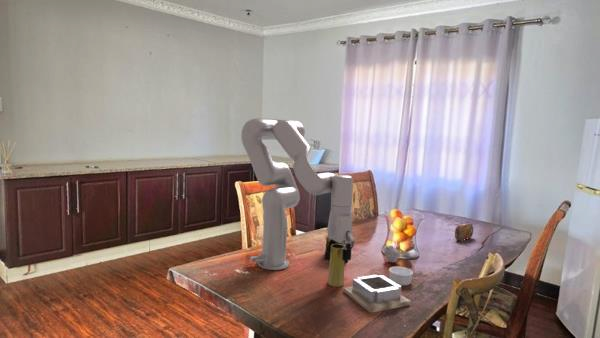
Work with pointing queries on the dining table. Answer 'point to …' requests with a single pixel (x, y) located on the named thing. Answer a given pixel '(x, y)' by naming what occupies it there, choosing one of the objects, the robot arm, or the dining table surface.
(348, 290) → the stand board
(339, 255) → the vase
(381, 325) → the dining table surface
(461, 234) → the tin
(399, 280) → the ramekin
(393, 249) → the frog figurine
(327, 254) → the dark olive cube holder
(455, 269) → the dining table surface
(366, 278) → the collar
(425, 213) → the dining table surface
